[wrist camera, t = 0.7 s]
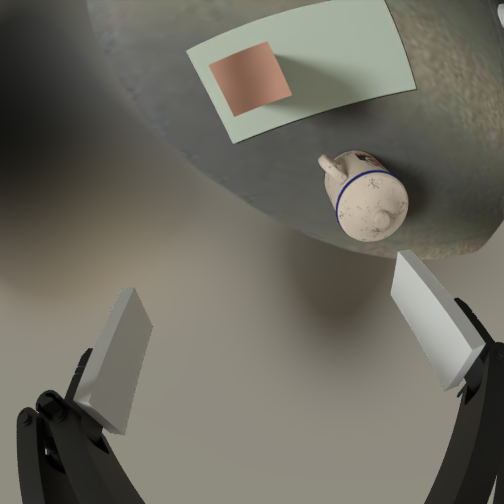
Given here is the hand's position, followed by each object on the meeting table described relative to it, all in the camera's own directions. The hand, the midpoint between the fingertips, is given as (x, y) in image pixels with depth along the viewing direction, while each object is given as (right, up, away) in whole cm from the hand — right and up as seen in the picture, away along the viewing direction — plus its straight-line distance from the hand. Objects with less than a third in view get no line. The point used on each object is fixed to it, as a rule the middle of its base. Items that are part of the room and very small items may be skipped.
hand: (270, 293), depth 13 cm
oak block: (0, +23, +15) cm, 27 cm away
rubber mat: (+6, +25, +13) cm, 29 cm away
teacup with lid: (+12, +13, +22) cm, 29 cm away
